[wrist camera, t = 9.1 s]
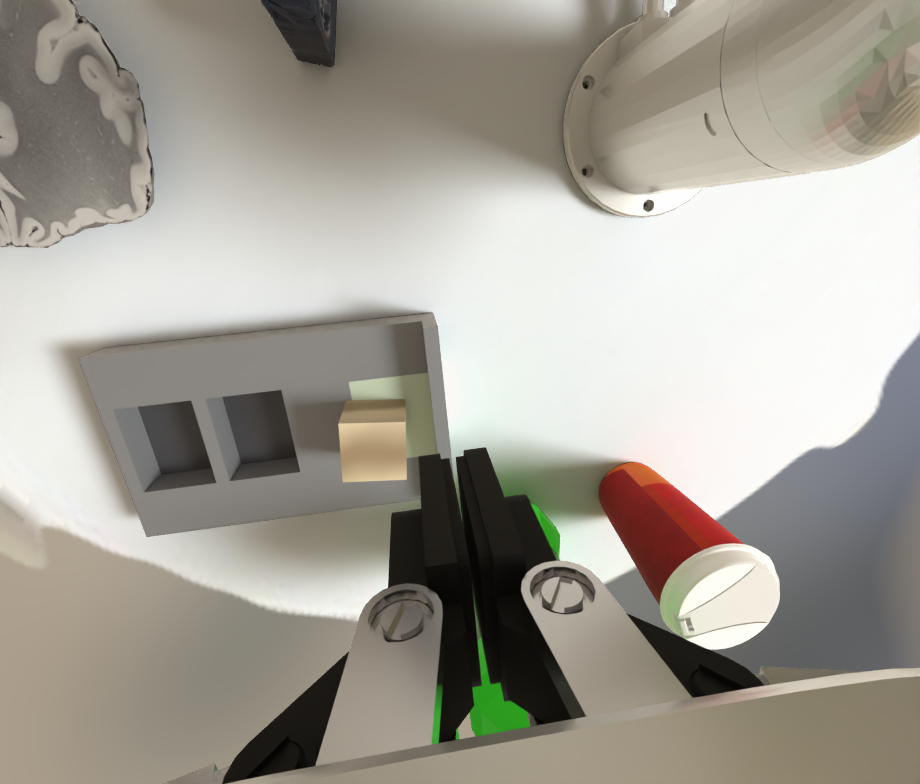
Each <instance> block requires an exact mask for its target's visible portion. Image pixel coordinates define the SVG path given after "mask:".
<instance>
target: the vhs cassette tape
mask: <svg viewBox="0 0 920 784" xmlns="http://www.w3.org/2000/svg"><path fill="white" fill-rule="evenodd" d="M261 2H262V4H263V5H264V7H265V8H266V9H267V11H268V12H269V13H270V15H271V17H272V18H273V20H274V22H275V24H276V25H277V27H278V28H279V30H280V31H281V33H282V35H283V37H284V39H285V40H286V42H287V43H288V44H289V46H290V48H292V51H293V53H294V54H295V56H296V58H297V59H298V60H301V61H305V62H309V63H314V64H317V63H318V64H319V65H320V64H322V65H324V66H328V67H331V66H333V65H334V58H335V38H336V11H337V0H261Z"/></svg>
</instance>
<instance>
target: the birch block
mask: <svg viewBox="0 0 920 784" xmlns="http://www.w3.org/2000/svg"><path fill="white" fill-rule="evenodd" d="M338 426H339V439H340V453H341V466H342V480H343V482H363V481H387V480H407V454H406V406H405V399H389V400H346V402H345V405H344V408H343V411H342V414H341V417H340V420H339V423H338Z"/></svg>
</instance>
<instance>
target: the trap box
mask: <svg viewBox="0 0 920 784" xmlns="http://www.w3.org/2000/svg"><path fill="white" fill-rule="evenodd" d="M78 360H79V362H80V365H81V367H82V370H83V373H84V375H85V378H86V380H87V383H88V386H89V388H90V391H91V393H92V396H93V399H94V401H95V404H96V406H97V409H98V412H99V414H100V417H101V419H102V422H103V425H104V427H105V430H106V432H107V435H108V438H109V440H110V443H111V445H112V448H113V451H114V453H115V456H116V458H117V461H118V464H119V466H120V469H121V471H122V474H123V477H124V479H125V482H126V484H127V487H128V490H129V492H130V495H131V497H132V500H133V503H134V505H135V508H136V510H137V513H138V516H139V518H140V521H141V523H142V526H143V529H144V531H145V534H146V536H147V537H150V536H158V535H165V534H172V533H179V532H186V531H194V530H201V529H208V528H215V527H222V526H230V525H237V524H244V523H251V522H259V521H266V520H273V519H280V518H287V517H295V516H302V515H309V514H316V513H324V512H331V511H338V510H345V509H352V508H360V507H367V506H374V505H381V504H389V503H396V502H403V501H410V500H417V499H421V491H420V475H419V459H418V456H424V455H432V454H439V453H440V456H441V459H445V458H449V459H450V464H451V469H452V474H453V468H452V459H451V449H450V440H449V430H448V421H447V411H446V401H445V392H444V382H443V373H442V363H441V354H440V344H439V335H438V326H437V323H436V320H435V317H434V314H433V313H425V314H416V315H406V316H397V317H388V318H378V319H369V320H360V321H351V322H341V323H332V324H323V325H313V326H304V327H295V328H285V329H276V330H267V331H257V332H248V333H239V334H229V335H220V336H211V337H201V338H192V339H183V340H173V341H164V342H155V343H145V344H136V345H127V346H117V347H108V348H103V349H100V350H98V351H95V352H93V353H90V354H88V355H85V356H83V357H80V358H78ZM389 399H405V406H406V454H407V480H387V481H363V482H343V480H342V466H341V453H340V439H339V426H338V423H339V420H340V417H341V414H342V411H343V408H344V405H345V402H346V400H389ZM453 479H454V478H453Z"/></svg>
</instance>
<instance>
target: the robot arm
mask: <svg viewBox="0 0 920 784" xmlns="http://www.w3.org/2000/svg"><path fill="white" fill-rule="evenodd" d="M663 9H664V0H643V10H642V16H641V17H639V18H638V20H637V21H635V22H633V23H631V24H629V25H626V26H624V27H622V28H620V29H619V30H617V31H616V32H615V33H614V34H612V35H611V36H610V37H608V38H607V39H606V40H604V41H603V42H602V43H601V44H600V45H599V46H598V47H597V48H596V49H595V50H594V51H593V52H592V54H591V55H590V56H589V58H588V59H587V60H586V62H585V63H584V64H583V66H582V67H581V69H580V71H579V73H578V75H577V77H576V79H575V80H574V82H573V84H572V87H571V90H570V93H569V96H568V100H567V103H566V108H565V114H564V121H563V142H564V148H565V153H566V159H567V162H568V164H569V167H570V170H571V173H572V175H573V177H574V179H575V180H576V182H577V184H578V185H579V187H580V189H581V190H582V191H583V192H584V193H585V194H586V195H587V196H588V197H589V199H590V200H591V201H593V202H594V203H595V204H597V205H598V206H600V207H601V208H603V209H604V210H607V211H609V212H611V213H614V214H616V215H620V216H626V217H649V216H656V215H660V214H663V213H666V212H669V211H672V210H674V209H676V208H677V207H679V206H681V205H683V204H684V203H686V202H688V201H689V200H690V199H691V198H692V197H694V196H695V195H696V194H697V193H698V192H700V191H701V190H702V188H704V187H712V186H719V185H726V184H734V183H741V182H748V181H756V180H763V179H770V178H778V177H785V176H793V175H800V174H807V173H812V172H819V171H826V170H832V169H839V168H844V167H848V166H852V165H856V164H860V163H863V162H866V161H868V160H871V159H874V158H877V157H879V156H882V155H884V154H886V153H888V152H890V151H892V150H894V149H896V148H897V147H899V146H901V145H903V144H905V143H907V142H908V141H910V140H911V139H913V138H915V137H916V136H918V135H919V134H920V0H676V6H675V7H674V8H673V9H671V10H670V13H669V17H668V13H667V11H663ZM583 82H584V83H586V84H587V89H585V88H584V87H583V84H582V83H583ZM583 168H584V169H585V170H586V175H585V176H584V175H583V174H582V169H583ZM644 203H645V205H646V207H645V209H643V204H644ZM418 459H419V475H420V491H421V507H422V509H417V510H410V511H402V512H395V513H392V516H391V536H390V558H389V581H388V588H387V589H384V590H382V591H381V592H379V593H378V594H376V595H375V596H373V597H372V598H371V600H370V601H369V602H368V603H367V604H366V605H365V606H364V609H363V611H362V613H361V615H360V617H359V621H358V624H357V627H356V631H355V634H354V638H353V641H352V644H351V648H350V651H349V652H348V653H347V654H346V655H345V656H343V657H342V658H341V659H340V660H339V661H338V662H337V663H336V664H335V665H334V666H332V667H331V668H330V669H329V670H328V671H327V672H326V673H325V674H324V675H323V676H322V677H321V678H319V679H318V680H317V681H316V682H315V683H314V684H313V685H312V686H311V687H310V688H308V689H307V690H306V691H305V692H304V693H303V694H302V695H301V696H300V697H298V698H297V699H296V700H295V701H294V702H293V703H292V704H291V705H290V706H289V707H288V708H286V709H285V710H284V711H283V712H282V713H281V714H280V715H279V716H278V717H277V718H275V719H274V721H272V722H271V723H270V724H269V725H268V726H267V727H266V728H264V730H262V731H261V732H260V733H259V734H258V735H257V736H256V737H255V738H254V739H252V740H251V741H250V742H249V743H248V744H247V745H246V746H245V748H244V749H243V750H242V751H241V752H240V753H239V754H238V755H237V757H236V758H235V759H234V761H233V762H232V764H231V765H230V766H227V767H225V768H222V769H220V770H218V769H217V767H216V764H215V763H213V764H211V765H208V766H206V767H203V768H201V769H199V770H196V771H194V772H191V773H188V774H186V775H183V776H181V777H178V778H176V779H173V780H171V781H168V782H166V783H163V784H920V668H906V669H905V668H904V669H886V670H876V671H867V672H863V671H842V670H822V669H821V670H820V669H802V668H801V669H800V668H781V667H761V668H760V673H759V674H752V673H751V672H750V671H749V670H748V669H747V668H745V667H743V666H741V665H740V664H738V663H736V662H734V661H733V660H731V659H729V658H727V657H724V656H722V655H720V654H717V653H715V652H713V651H711V650H708V649H706V648H704V647H702V646H699V645H697V644H695V643H693V642H690V641H688V640H686V639H684V638H681V637H679V636H677V635H675V634H672V633H670V632H668V631H665V630H663V629H661V628H659V627H656V626H654V625H652V624H650V623H647V622H645V621H643V620H640V619H638V618H636V617H634V616H631V615H629V614H627V613H625V611H624V610H623V609H622V608H621V606H620V605H619V604H618V602H617V601H616V600H615V599H614V597H613V596H612V595H611V594H610V592H609V591H608V590H607V588H606V587H605V586H604V585H603V583H602V582H601V581H600V580H599V578H598V577H597V576H596V575H594V574H593V573H592V572H591V571H590V570H588V569H586V568H585V567H583V566H581V565H578V564H575V563H571V562H567V561H557V560H556V558H555V555H554V553H553V551H552V549H551V547H550V545H549V542H548V540H547V538H546V536H545V534H544V531H543V529H542V527H541V525H540V523H539V521H538V518H537V516H536V514H535V512H534V510H533V508H532V505H531V503H530V501H529V499H528V497H527V495H525V494H524V495H517V496H510V497H504V495H503V492H502V490H501V487H500V484H499V482H498V479H497V476H496V474H495V471H494V468H493V466H492V463H491V460H490V458H489V455H488V452H487V449H486V447H485V448H477V449H470V450H464V456H461V457H456V463H457V473H458V483H459V493H460V503H461V513H462V519H461V514H460V509H459V504H458V499H457V494H456V489H455V484H454V479H453V474H452V469H451V464H450V459H449V458H445V459H441V456H440V453H439V454H432V455H424V456H418ZM462 523H463V525H462ZM473 596H474V599H473ZM474 601H475V607H476V612H477V617H478V622H479V628H480V633H481V638H482V644H483V649H484V654H485V660H486V665H487V670H488V675H489V680H490V684H496V683H500V684H501V689H502V693H503V698H504V702H506V701H511V702H513V703H515V704H516V705H518V706H519V707H521V708H522V709H524V710H525V711H527V714H528V720H529V725H530V727H526V728H520V729H515V730H509V731H504V732H498V733H493V734H487V735H482V736H476V737H471V738H465V739H459V734H458V727H459V725H460V724H461V723H462V721H463V720H464V719H465V717H466V716H467V715H468V713H469V712H470V711H471V709H472V708H473V707H474V699H473V689H472V688H473V687H478V686H482V681H481V671H480V661H479V651H478V640H477V630H476V620H475V610H474Z"/></svg>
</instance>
